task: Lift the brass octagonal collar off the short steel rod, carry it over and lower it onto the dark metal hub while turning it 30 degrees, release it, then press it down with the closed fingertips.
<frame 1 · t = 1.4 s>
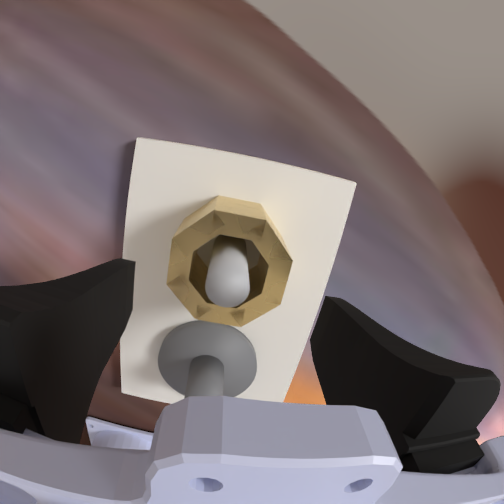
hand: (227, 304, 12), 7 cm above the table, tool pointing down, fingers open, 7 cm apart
assembly board: (218, 301, 20), on the table
brass collar: (229, 247, 18), point 1 cm above the table, touching assembly board
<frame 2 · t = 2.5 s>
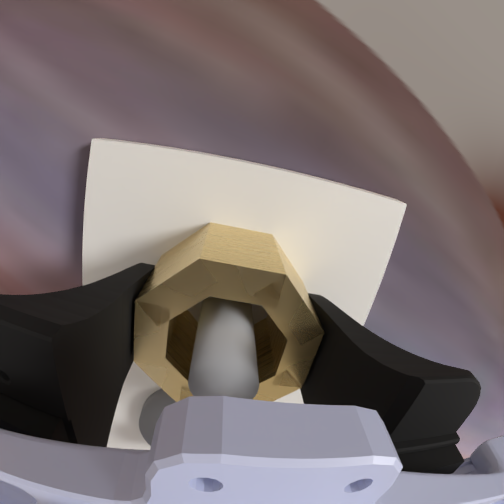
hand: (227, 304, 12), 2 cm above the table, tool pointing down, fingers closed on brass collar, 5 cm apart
assembly board: (213, 358, 15), on the table
brass collar: (227, 295, 12), point 1 cm above the table, touching assembly board, gripper
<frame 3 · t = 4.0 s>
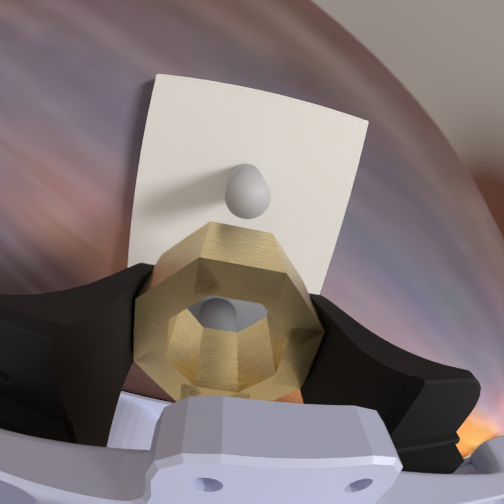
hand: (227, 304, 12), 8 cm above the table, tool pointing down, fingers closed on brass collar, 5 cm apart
assembly board: (230, 242, 20), on the table
brass collar: (227, 294, 12), point 8 cm above the table, touching gripper
when the fingers open (4 cm above the table, at t = 5.8 s): brass collar drops 2 cm, resting on assembly board.
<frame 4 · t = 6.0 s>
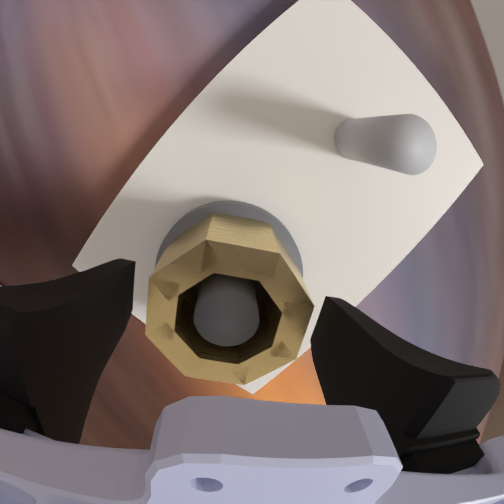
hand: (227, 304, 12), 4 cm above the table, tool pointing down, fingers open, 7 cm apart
assembly board: (287, 201, 15), on the table
brass collar: (229, 278, 14), point 2 cm above the table, touching assembly board
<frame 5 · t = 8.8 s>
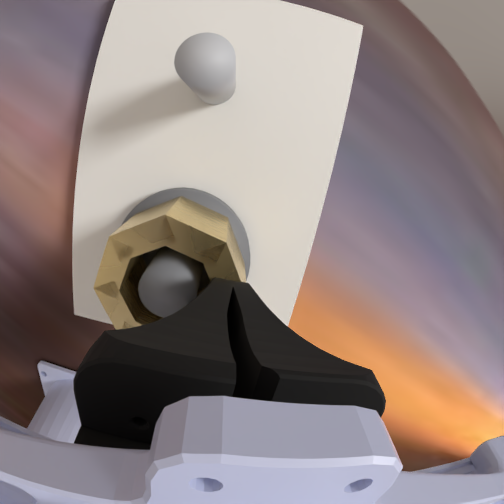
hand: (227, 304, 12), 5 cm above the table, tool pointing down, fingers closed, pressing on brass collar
assembly board: (199, 169, 15), on the table
brass collar: (180, 259, 15), point 2 cm above the table, touching assembly board, gripper
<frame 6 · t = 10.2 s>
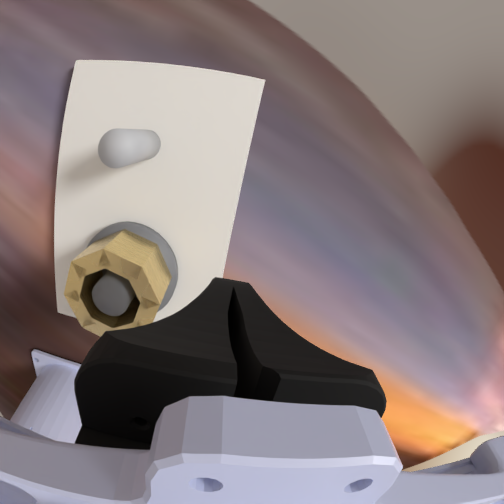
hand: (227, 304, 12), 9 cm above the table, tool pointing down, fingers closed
assembly board: (141, 206, 20), on the table
brass collar: (127, 273, 19), point 2 cm above the table, touching assembly board
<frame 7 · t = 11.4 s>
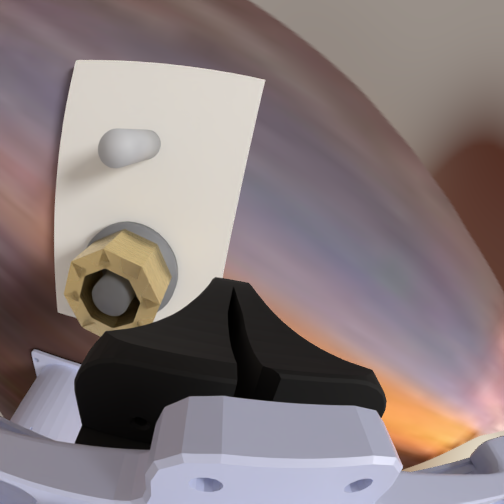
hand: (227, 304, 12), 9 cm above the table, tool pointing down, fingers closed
assembly board: (141, 206, 20), on the table
brass collar: (127, 273, 19), point 2 cm above the table, touching assembly board
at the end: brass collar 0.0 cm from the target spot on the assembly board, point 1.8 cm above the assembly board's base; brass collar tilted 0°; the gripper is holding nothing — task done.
